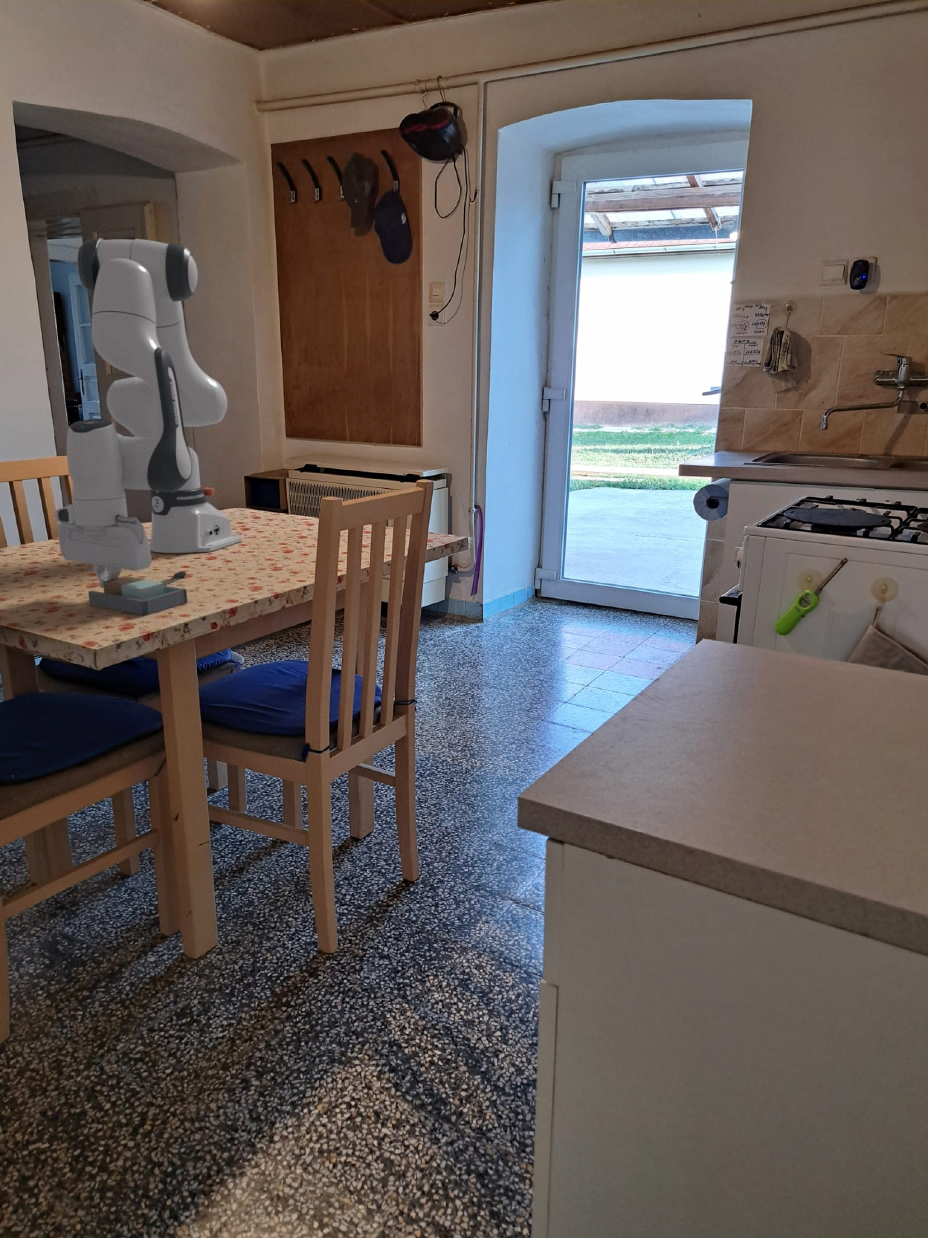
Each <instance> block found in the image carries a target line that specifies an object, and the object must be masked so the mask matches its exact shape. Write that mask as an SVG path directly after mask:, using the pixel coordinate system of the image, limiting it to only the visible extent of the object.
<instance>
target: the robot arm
mask: <svg viewBox="0 0 928 1238" xmlns="http://www.w3.org/2000/svg"><path fill="white" fill-rule="evenodd" d="M76 260H77V261H76V262H77V263H76V267H77V272H78V276H79V280H80V282H81V284H82V286H83V287H84V288H85V289H86V290H87V291H88V292H89V293H90V294H92V295H93V297H92V299H93V300H92V309H91V310H92V312H91V337H92V344H93V346H94V348H95V351H96V352H97V354H98V355H99V356H100V357H101V358H102V360H103V361H105V362H106V363H108V364H109V365H110V366H112V367H113V368H115V369H117V370H118V371H122V372H124V373H126V374H128V375H132V376H131V377H127V378H122V379H117V380H114V381H113V382H112V383H111V385H109V388H108V390H107V393H106V406H107V409H108V412H109V413H110V415H111V417H112V418H113V419H114V421H116V423H118V424H119V425H121V426H122V427H124V428H125V429H127V430H128V432H130V433H131V434H132V435H133V436H127V435H125V436H124V435H122V434H120V433H118V432H117V431H116V427H115V424H114V422H113V421H111V420H110V419H109V420H108V419H103V418H91V419H83V420H78V421H76V422H73V423H72V424H70V425H69V426H68V429H67V434H66V461H67V469H68V475H69V478H70V479H71V482H72V492H71V502H72V503H71V504H68V505H66V506H64V507H61V508H58V509H56V510H55V511H54V517H55V521H57V522H58V527H57V535H58V536H57V537H58V544H59V549H60V553H61V555H62V557H63V558H64V559H65V560H67V561H73V562H80V563H86V564H91V565H92V567H93V569H92V570H93V571H94V574H95V575H96V577H97V578H98V580H99V586H100V587H99V588H101V589H104V586H103V582H104V581H108V580H112V579H116V578H120V574H121V572H122V570H129V571H134V572H135V571H140V570H145V569H148V568H150V567H151V565H152V560H153V559H152V554H151V553H152V552H154V553H163V554H185V553H186V554H187V553H208V552H213V551H216V550H219V549H223V548H224V547H229V546H231V545H234V544H238V543H239V542H242V541H243V538H242V536H240V535H237V534H234V533H233V532H232V526H231V523H230V519H229V518H228V516H227V515H226V514H224V513H223V512H221V511H220V510H219V509H217V508H216V507H215V506H213V505H212V504H211V503H209V502H208V498H207V496H208V497H213V496H215V494H216V493H215V492H216V491H215V489H214V487H204V488H203V487H202V486H201V477H200V466H199V465H200V464H199V458H198V455H197V452H196V451H195V450H194V449H193V448H192V447H190V446H188V442H187V437H186V433H185V428H188V427H190V428H193V427H195V428H197V427H198V428H199V427H200V428H201V427H204V426H211V425H215V424H219V423H221V422H222V421H223V419H224V417H225V416H226V414H227V410H228V397H227V394H226V391H225V389H224V387H222V385H221V384H220V382H218V381H217V380H215V379H213V378H212V377H210V375H208V374H207V373H206V372H204V371H203V370H202V369H201V367H200V366H199V365H198V364H197V363H196V361H195V360H194V358H193V355H192V352H191V351H190V347H189V343H188V339H187V333H186V332H187V331H186V326H185V325H186V324H185V316H184V312H183V311H184V310H183V305H182V302H183V301H186V300H188V299H191V297H192V296H193V295H194V294H195V291H196V287H197V284H198V279H199V278H198V277H199V275H198V267H197V263H196V261H195V258H194V255H193V253H192V252H191V250H190V249H188V247H186V246H184V245H181V244H177V243H174V242H169V243H166V242H161V241H155V240H150V239H139V238H135V239H125V238H124V239H121V238H119V239H116V238H114V239H104V238H100V237H99V238H91V239H88V240H85V241H84V242H82V245H81V246H80V247H79V249H78V251H77V259H76ZM125 489H127V490H141V491H146V490H147V491H148V500H149V504H150V507H151V530H150V531H151V532H150V541H149V538H148V535H147V532H146V531H145V527H144V525H143V524H142V522H141V521H139V519H138V518H137V517H135V516H128V507H127V506H128V505H127V496H126V492H125Z"/></svg>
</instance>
